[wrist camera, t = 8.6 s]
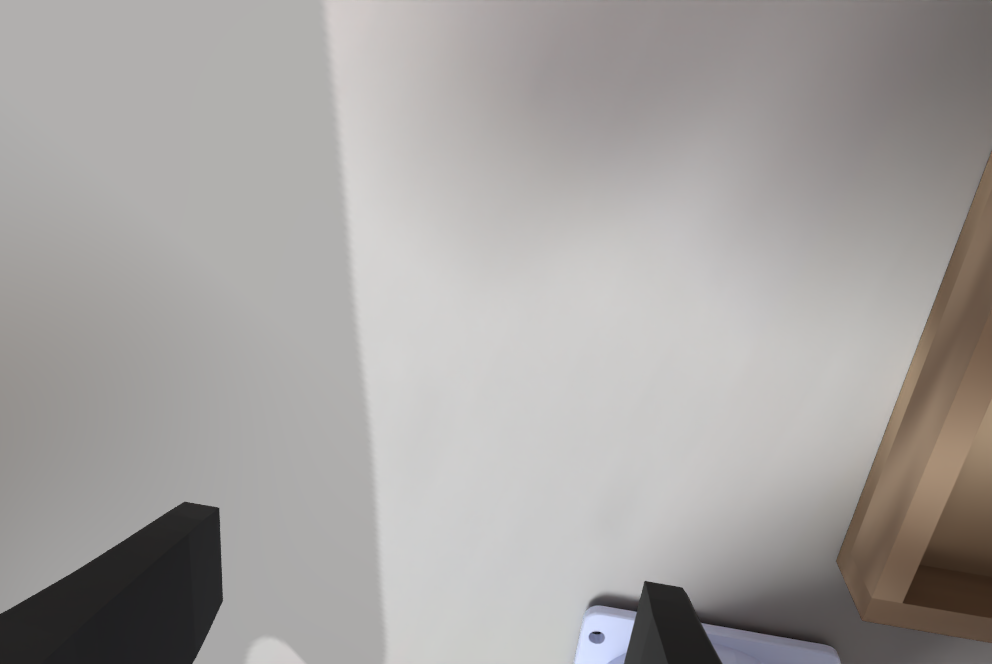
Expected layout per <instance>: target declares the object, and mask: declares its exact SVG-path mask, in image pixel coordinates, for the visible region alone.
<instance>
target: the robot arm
mask: <svg viewBox="0 0 992 664" xmlns="http://www.w3.org/2000/svg"><path fill="white" fill-rule="evenodd" d="M220 543H221V542H220V518H219V508H217V507H212V506H206V505H200V504H194V503H188V502H184V503H182V504H180V505H179V506H177V507H175V508H174V509H172V510H170V511H169V512H167V513H166V514H164V515H163V516H161V517H159V518H158V519H156V520H155V521H153V522H152V523H150V524H149V525H147V526H146V527H144V528H143V529H141V530H139V531H138V532H136V533H135V534H133V535H132V536H130V537H129V538H127V539H126V540H124V541H122V542H121V543H119V544H118V545H116V546H115V547H113V548H112V549H110V550H108V551H107V552H105V553H103V554H102V555H100V556H99V557H97V558H96V559H94V560H92V561H91V562H89V563H88V564H86V565H84V566H83V567H81V568H80V569H78V570H76V571H75V572H73V573H71V574H70V575H68V576H66V577H65V578H63V579H61V580H59V581H58V582H56V583H54V584H52V585H51V586H49V587H47V588H46V589H44V590H42V591H40V592H39V593H37V594H35V595H33V596H32V597H30V598H28V599H27V600H25V601H23V602H21V603H19V604H18V605H16V606H14V607H12V608H11V609H9V610H7V611H5V612H3V613H1V614H0V664H192V663H193V661H194V660H195V658H196V656H197V654H198V652H199V650H200V648H201V646H202V644H203V642H204V640H205V638H206V636H207V634H208V632H209V630H210V628H211V625H212V623H213V621H214V619H215V616H216V614H217V612H218V610H219V608H220V606H221V604H222V601H223V596H222V595H223V593H222V568H221V544H220ZM594 631H599V632H601V634H593V633H591V632H594ZM573 664H841V661H840V659H839V656H838V654H837V651H836V650H835V649H834V648H833V647H831V646H828V645H824V644H818V643H812V642H807V641H801V640H795V639H790V638H784V637H778V636H772V635H767V634H761V633H755V632H750V631H744V630H738V629H732V628H727V627H721V626H715V625H710V624H704V623H701V622H700V620H699V618H698V616H697V614H696V612H695V610H694V608H693V606H692V604H691V601H690V599H689V597H688V595H687V594H686V592H685V591H684V589H683V588H682V587H676V586H670V585H664V584H658V583H653V582H647V581H645V582H644V586H643V590H642V594H641V598H640V601H639V605H638V609H637V612H635V611H630V610H624V609H618V608H612V607H607V606H593V607H590V608H589V609H587V610H586V612H585V614H584V616H583V621H582V626H581V630H580V635H579V640H578V644H577V649H576V653H575V658H574V663H573Z"/></svg>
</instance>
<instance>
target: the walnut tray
mask: <svg viewBox="0 0 992 664" xmlns="http://www.w3.org/2000/svg"><path fill="white" fill-rule="evenodd" d="M836 562H837V564H838V567H839V569H840V571H841V574H842V576H843V578H844V580H845V583H846V585H847V587H848V589H849V592H850V594H851V596H852V599H853V601H854V603H855V605H856V608H857V610H858V612H859V615H860V617H861V619H862V621H867V622H873V623H879V624H884V625H890V626H896V627H902V628H907V629H913V630H919V631H925V632H931V633H936V634H942V635H948V636H954V637H960V638H965V639H971V640H977V641H983V642H989V643H992V152H991V155H990V157H989V160H988V163H987V165H986V168H985V170H984V173H983V176H982V178H981V181H980V184H979V186H978V189H977V191H976V194H975V197H974V199H973V202H972V205H971V207H970V210H969V213H968V215H967V218H966V220H965V223H964V226H963V228H962V231H961V234H960V236H959V239H958V241H957V244H956V247H955V249H954V252H953V255H952V257H951V260H950V263H949V265H948V268H947V270H946V273H945V276H944V278H943V281H942V284H941V286H940V289H939V291H938V294H937V297H936V299H935V302H934V305H933V307H932V310H931V313H930V315H929V318H928V320H927V323H926V326H925V328H924V331H923V334H922V336H921V339H920V341H919V344H918V347H917V349H916V352H915V355H914V357H913V360H912V363H911V365H910V368H909V370H908V373H907V376H906V378H905V381H904V384H903V386H902V389H901V391H900V394H899V397H898V399H897V402H896V405H895V407H894V410H893V413H892V415H891V418H890V420H889V423H888V426H887V428H886V431H885V434H884V436H883V439H882V442H881V444H880V447H879V449H878V452H877V455H876V457H875V460H874V463H873V465H872V468H871V470H870V473H869V476H868V478H867V481H866V484H865V486H864V489H863V492H862V494H861V497H860V499H859V502H858V505H857V507H856V510H855V513H854V515H853V518H852V520H851V523H850V526H849V528H848V531H847V534H846V536H845V539H844V542H843V544H842V547H841V549H840V552H839V555H838V557H837V560H836Z"/></svg>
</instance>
